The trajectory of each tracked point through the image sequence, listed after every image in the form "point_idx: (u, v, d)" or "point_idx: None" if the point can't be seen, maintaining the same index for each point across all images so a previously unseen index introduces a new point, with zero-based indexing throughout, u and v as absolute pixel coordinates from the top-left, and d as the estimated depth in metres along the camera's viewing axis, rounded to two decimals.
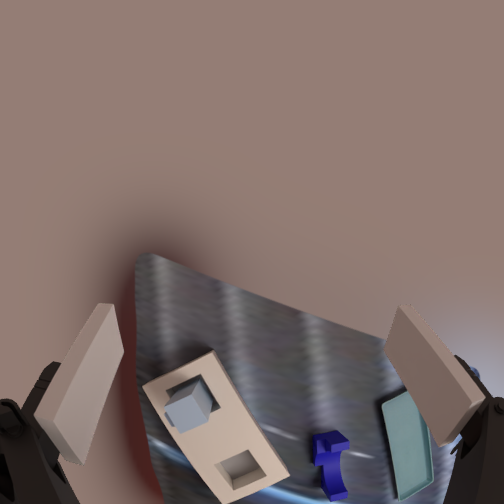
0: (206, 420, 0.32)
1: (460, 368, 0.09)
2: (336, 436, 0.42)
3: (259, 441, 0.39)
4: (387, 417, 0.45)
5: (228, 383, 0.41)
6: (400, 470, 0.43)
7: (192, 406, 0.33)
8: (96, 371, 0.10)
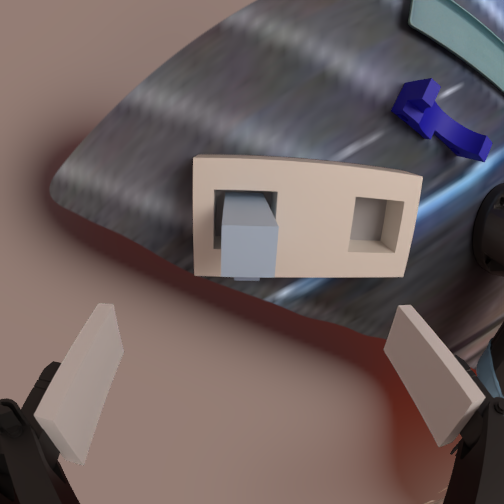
0: (275, 228, 0.22)
1: (460, 368, 0.09)
2: (413, 88, 0.27)
3: (355, 175, 0.28)
4: (429, 33, 0.26)
5: (249, 160, 0.27)
6: (496, 78, 0.28)
7: (241, 234, 0.22)
8: (96, 371, 0.10)
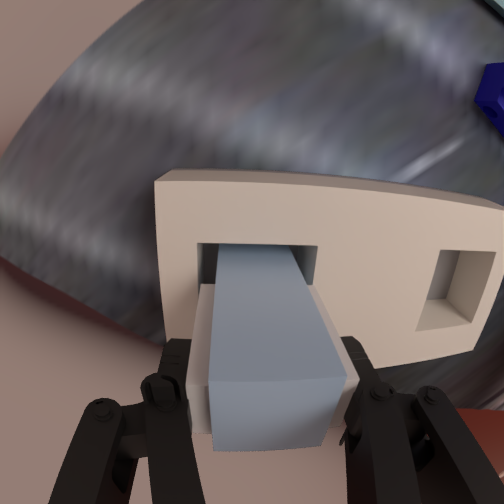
0: (339, 379, 0.08)
1: (340, 346, 0.10)
2: None
3: (443, 215, 0.15)
4: None
5: (265, 187, 0.14)
6: None
7: (258, 397, 0.08)
8: None
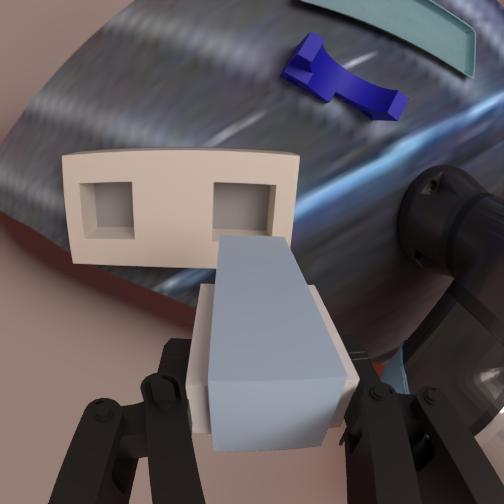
0: (339, 378, 0.08)
1: (340, 346, 0.10)
2: (298, 47, 0.26)
3: (210, 159, 0.27)
4: (329, 5, 0.25)
5: (105, 154, 0.26)
6: (428, 44, 0.27)
7: (257, 396, 0.08)
8: None
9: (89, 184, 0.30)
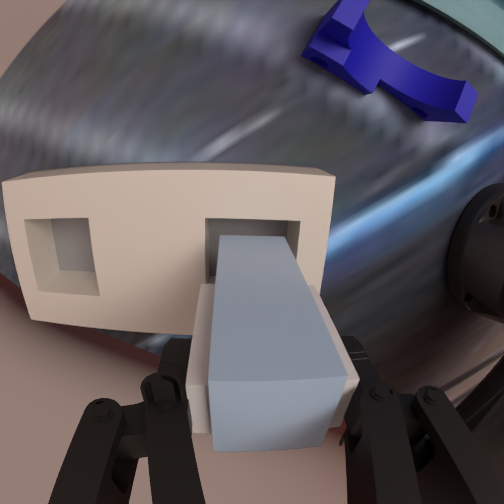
0: (339, 378, 0.08)
1: (340, 346, 0.10)
2: (328, 14, 0.16)
3: (199, 184, 0.18)
4: None
5: (51, 178, 0.17)
6: (480, 30, 0.17)
7: (258, 396, 0.08)
8: None
9: None
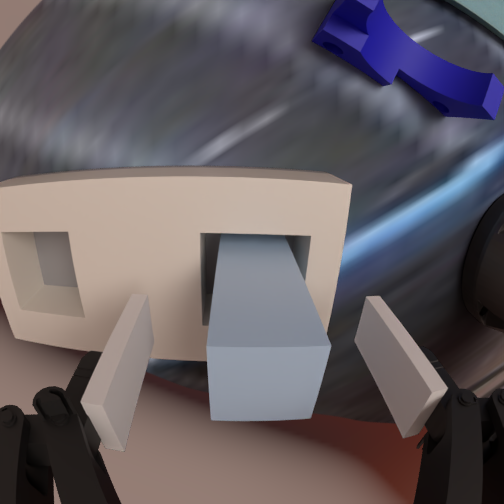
0: (323, 348, 0.09)
1: (423, 358, 0.10)
2: None
3: (193, 193, 0.15)
4: None
5: (27, 187, 0.14)
6: (497, 25, 0.15)
7: (250, 363, 0.10)
8: (135, 358, 0.11)
9: None
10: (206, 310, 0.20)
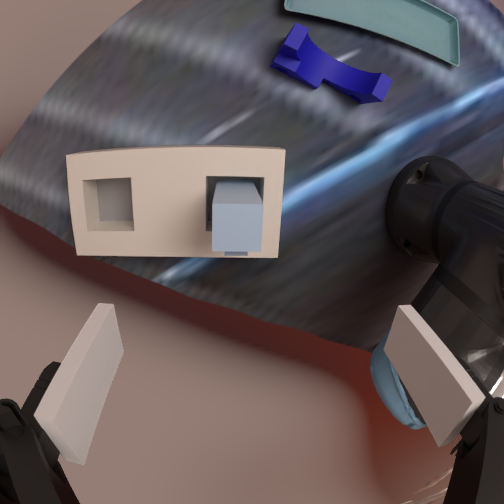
0: (260, 205, 0.24)
1: (460, 368, 0.09)
2: (285, 38, 0.27)
3: (202, 155, 0.30)
4: (314, 11, 0.28)
5: (106, 152, 0.28)
6: (412, 38, 0.29)
7: (230, 212, 0.24)
8: (96, 371, 0.10)
9: (92, 181, 0.32)
10: (208, 226, 0.34)
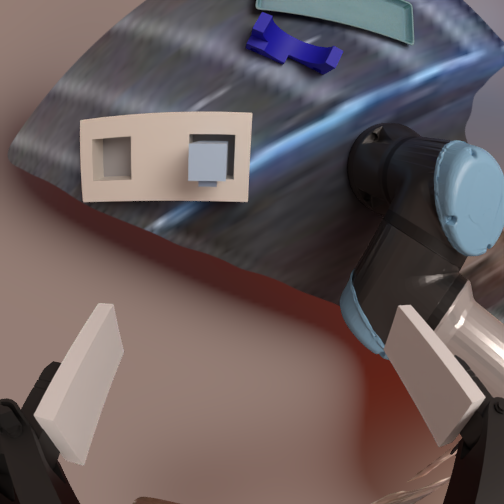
0: (224, 145, 0.30)
1: (460, 368, 0.09)
2: None
3: (187, 118, 0.36)
4: (281, 8, 0.34)
5: (112, 117, 0.35)
6: (368, 23, 0.35)
7: (202, 150, 0.30)
8: (96, 371, 0.10)
9: (99, 142, 0.39)
10: None
